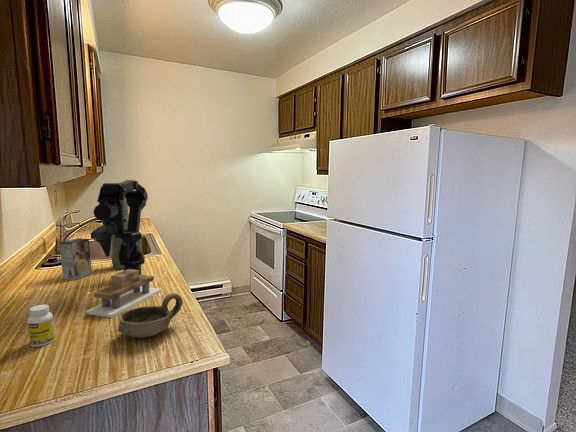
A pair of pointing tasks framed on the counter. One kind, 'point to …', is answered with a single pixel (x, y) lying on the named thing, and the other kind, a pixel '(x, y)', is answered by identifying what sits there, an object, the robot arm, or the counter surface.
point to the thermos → (119, 240)
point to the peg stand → (123, 301)
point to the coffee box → (75, 258)
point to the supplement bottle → (40, 326)
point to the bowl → (149, 318)
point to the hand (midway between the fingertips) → (117, 257)
